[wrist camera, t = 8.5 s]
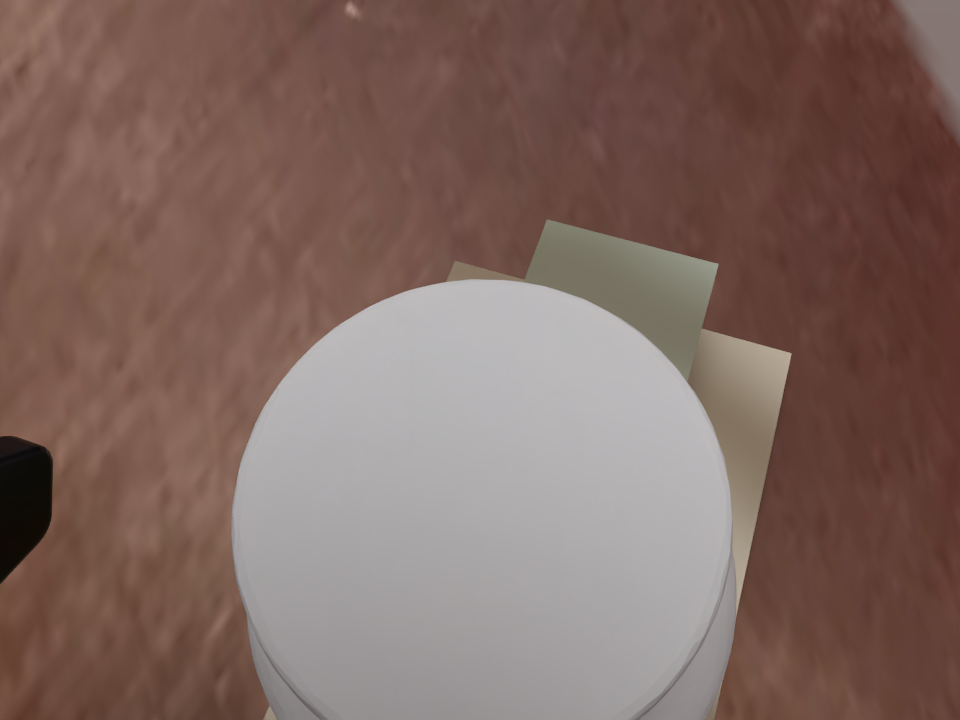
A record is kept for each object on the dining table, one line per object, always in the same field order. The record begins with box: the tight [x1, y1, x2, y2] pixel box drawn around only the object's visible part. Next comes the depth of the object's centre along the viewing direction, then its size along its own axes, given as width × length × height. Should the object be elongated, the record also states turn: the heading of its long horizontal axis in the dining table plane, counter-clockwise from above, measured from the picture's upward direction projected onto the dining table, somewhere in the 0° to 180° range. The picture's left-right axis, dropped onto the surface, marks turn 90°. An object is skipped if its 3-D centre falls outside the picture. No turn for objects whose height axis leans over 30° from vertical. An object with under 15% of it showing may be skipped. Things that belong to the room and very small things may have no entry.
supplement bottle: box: [231, 279, 737, 720], centre depth 11 cm, size 5×5×10 cm
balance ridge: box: [263, 220, 791, 720], centre depth 17 cm, size 18×9×4 cm, turn 161°
